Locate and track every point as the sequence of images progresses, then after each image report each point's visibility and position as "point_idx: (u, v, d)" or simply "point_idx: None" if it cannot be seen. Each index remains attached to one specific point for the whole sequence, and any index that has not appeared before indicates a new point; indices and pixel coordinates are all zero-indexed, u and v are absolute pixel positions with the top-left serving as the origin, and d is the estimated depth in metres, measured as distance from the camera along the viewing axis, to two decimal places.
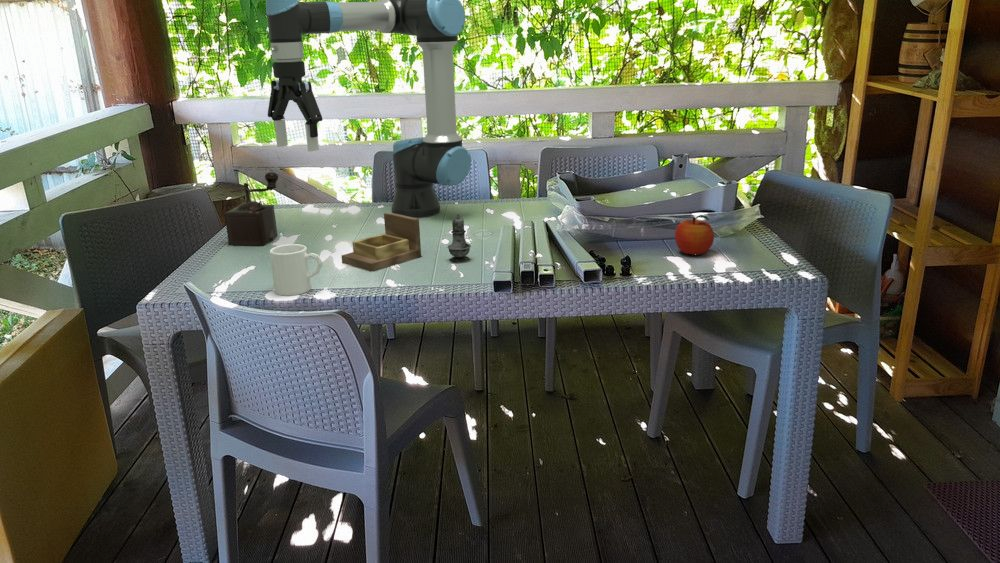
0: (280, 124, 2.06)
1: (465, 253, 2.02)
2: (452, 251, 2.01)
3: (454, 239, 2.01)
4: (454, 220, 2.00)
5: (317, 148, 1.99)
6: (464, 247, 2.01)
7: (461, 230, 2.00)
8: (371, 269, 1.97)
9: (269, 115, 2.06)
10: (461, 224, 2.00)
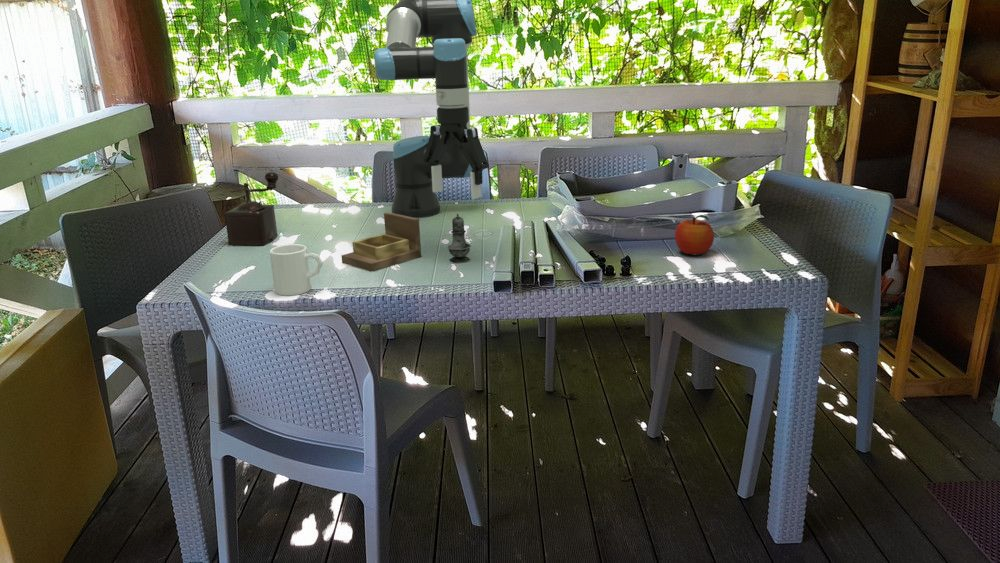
0: (437, 169, 2.01)
1: (465, 253, 2.02)
2: (452, 251, 2.01)
3: (454, 239, 2.01)
4: (454, 220, 2.00)
5: (480, 195, 1.94)
6: (464, 247, 2.01)
7: (461, 230, 2.00)
8: (371, 269, 1.97)
9: (425, 160, 2.01)
10: (461, 224, 2.00)
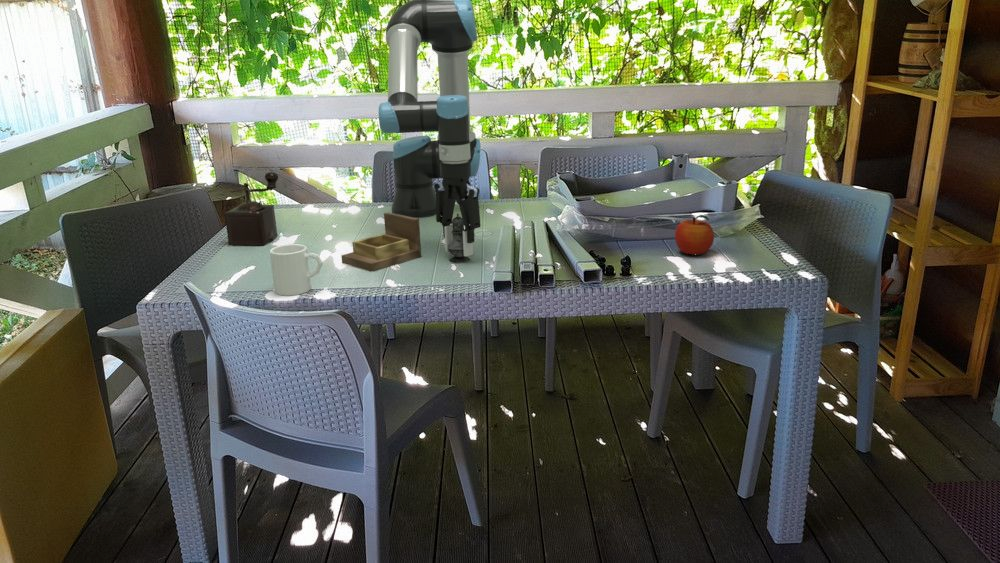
0: (450, 230, 2.04)
1: None
2: (452, 251, 2.01)
3: (454, 239, 2.01)
4: (454, 220, 2.00)
5: (472, 252, 2.02)
6: None
7: (461, 230, 2.00)
8: (371, 269, 1.97)
9: (438, 220, 2.04)
10: (461, 224, 2.00)
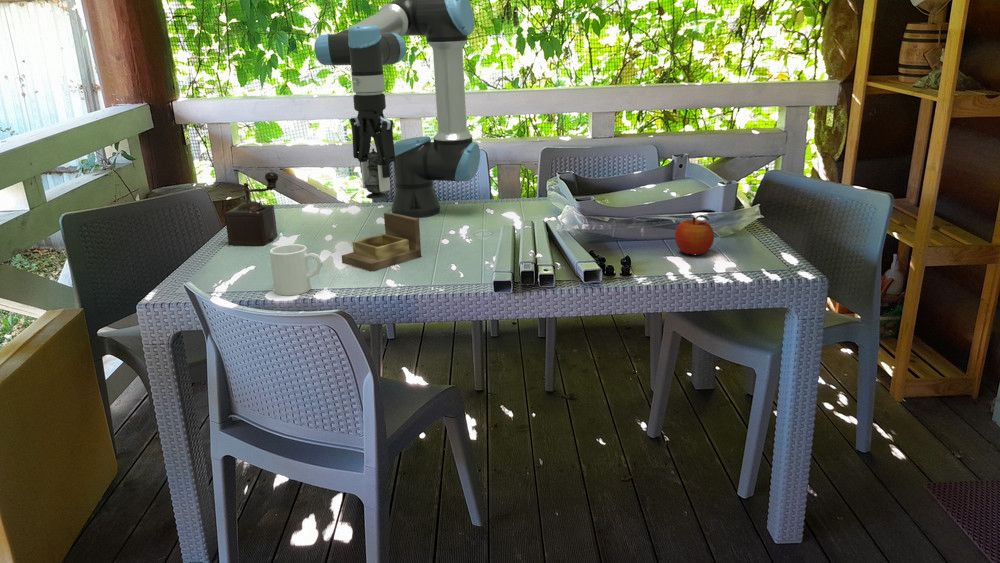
0: (367, 165, 2.00)
1: None
2: (368, 186, 1.98)
3: (370, 174, 1.98)
4: (369, 154, 1.97)
5: (388, 188, 1.99)
6: None
7: (376, 165, 1.97)
8: (371, 269, 1.97)
9: (355, 156, 2.01)
10: (377, 158, 1.97)
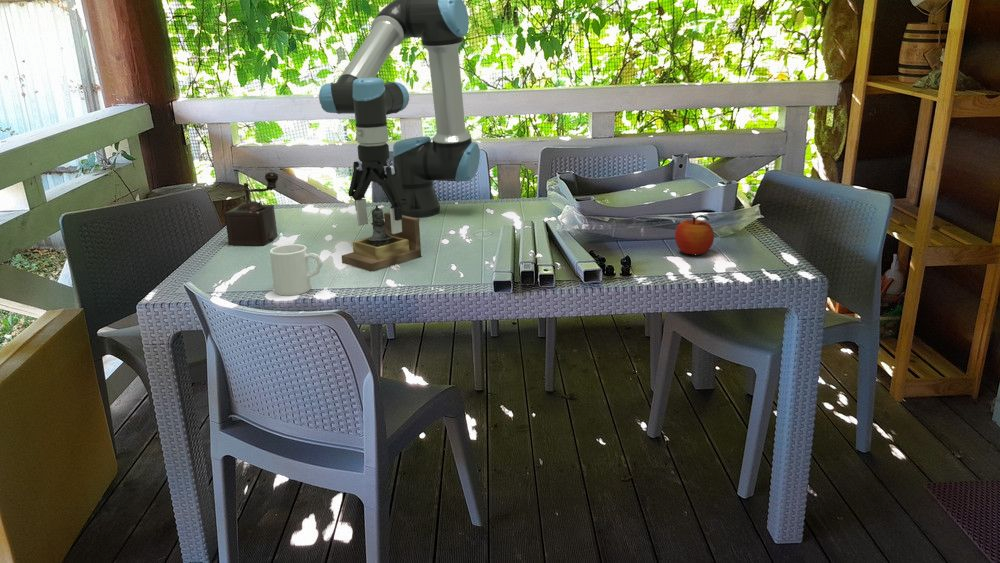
0: (361, 204, 2.06)
1: (385, 244, 2.03)
2: (372, 242, 2.03)
3: (374, 230, 2.03)
4: (373, 211, 2.02)
5: (400, 230, 1.99)
6: (384, 238, 2.03)
7: (380, 221, 2.02)
8: (371, 269, 1.97)
9: (350, 194, 2.06)
10: (380, 215, 2.02)
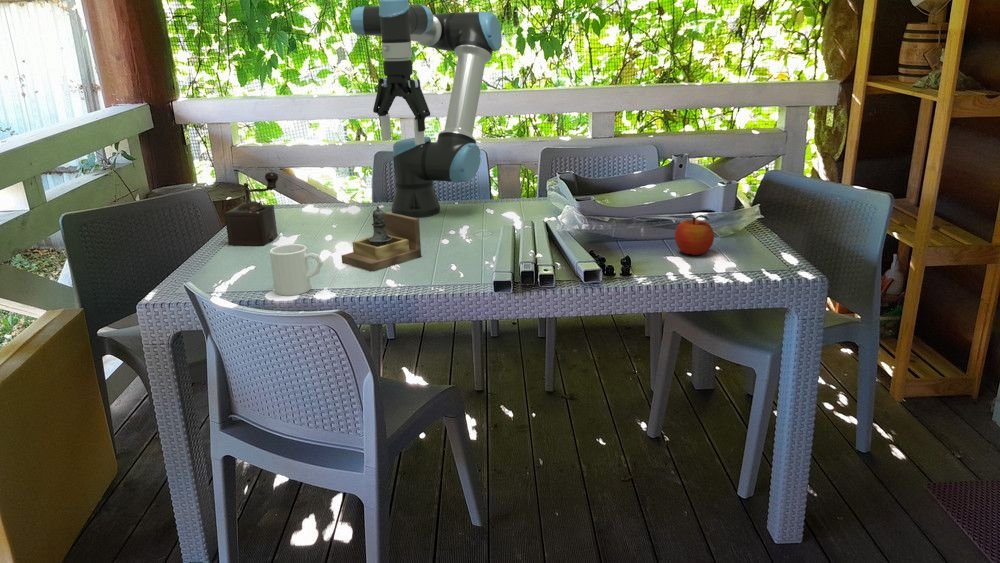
0: (385, 119, 2.19)
1: None
2: (373, 243, 2.03)
3: (375, 231, 2.03)
4: (374, 212, 2.01)
5: (423, 141, 2.13)
6: (385, 239, 2.03)
7: (381, 222, 2.02)
8: (371, 269, 1.97)
9: (375, 111, 2.19)
10: (381, 216, 2.02)
